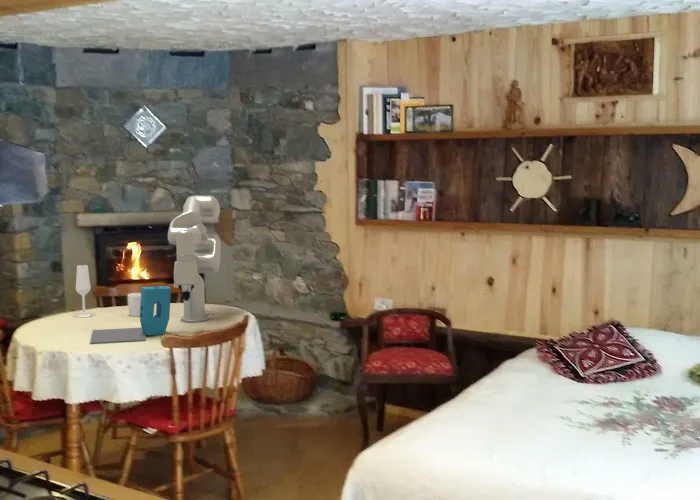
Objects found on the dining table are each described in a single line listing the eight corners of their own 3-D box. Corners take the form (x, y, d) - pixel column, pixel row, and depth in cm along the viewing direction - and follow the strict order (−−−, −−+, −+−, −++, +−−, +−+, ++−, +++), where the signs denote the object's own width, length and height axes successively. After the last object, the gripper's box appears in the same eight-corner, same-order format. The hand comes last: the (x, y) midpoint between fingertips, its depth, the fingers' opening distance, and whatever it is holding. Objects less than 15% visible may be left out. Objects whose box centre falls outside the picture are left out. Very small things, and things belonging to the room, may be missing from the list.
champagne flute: (86, 317, 357) (84, 267, 354) (73, 316, 359) (71, 266, 356) (94, 314, 364) (92, 265, 360) (82, 313, 365) (80, 264, 362)
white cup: (148, 314, 365) (148, 294, 364) (136, 317, 358) (135, 296, 357) (137, 312, 369) (136, 292, 368) (124, 315, 363) (123, 294, 361)
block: (143, 335, 322) (145, 289, 320) (138, 333, 326) (140, 287, 323) (169, 333, 330) (171, 288, 327) (164, 330, 333) (166, 286, 331)
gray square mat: (145, 328, 337) (145, 327, 337) (145, 340, 316) (145, 339, 316) (92, 331, 331) (92, 330, 331) (90, 344, 310) (90, 342, 310)
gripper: (202, 256, 333) (203, 298, 335) (167, 257, 329) (168, 299, 331) (204, 259, 325) (204, 301, 328) (168, 260, 321) (169, 302, 324)
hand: (186, 300), depth 329 cm, fingers closed
